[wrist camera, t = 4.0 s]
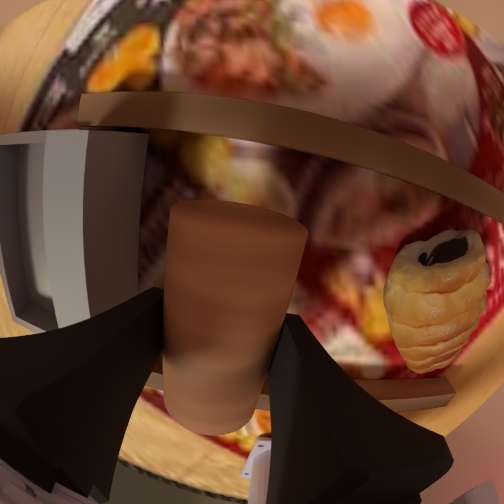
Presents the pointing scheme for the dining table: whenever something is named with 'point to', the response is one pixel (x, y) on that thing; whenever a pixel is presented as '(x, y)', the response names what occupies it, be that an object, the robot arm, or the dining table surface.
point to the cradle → (25, 230)
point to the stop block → (92, 219)
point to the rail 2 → (384, 390)
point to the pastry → (436, 297)
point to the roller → (224, 308)
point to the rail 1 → (290, 137)
